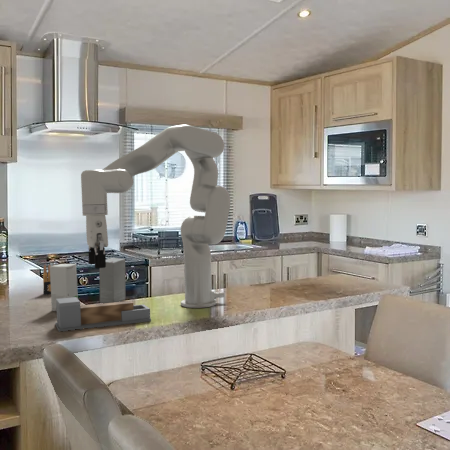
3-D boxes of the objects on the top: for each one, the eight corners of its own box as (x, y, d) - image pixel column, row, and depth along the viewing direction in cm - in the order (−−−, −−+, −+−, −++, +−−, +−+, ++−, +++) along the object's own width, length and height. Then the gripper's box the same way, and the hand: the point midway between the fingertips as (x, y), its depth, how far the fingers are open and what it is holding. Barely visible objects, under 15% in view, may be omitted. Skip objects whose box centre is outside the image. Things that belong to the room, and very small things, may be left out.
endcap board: (143, 315, 184) (142, 290, 184) (151, 321, 176) (150, 295, 176) (55, 325, 173) (54, 298, 172) (59, 331, 165) (57, 304, 164)
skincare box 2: (111, 298, 212) (110, 257, 211) (127, 300, 209) (126, 258, 208) (98, 303, 204) (96, 260, 203) (115, 304, 202) (113, 261, 200)
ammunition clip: (43, 294, 223) (42, 265, 222) (43, 294, 224) (42, 264, 223) (71, 292, 226) (70, 263, 226) (70, 291, 228) (69, 262, 227)
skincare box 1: (67, 311, 191) (66, 266, 190) (50, 311, 193) (48, 266, 191) (78, 306, 199) (77, 263, 198) (61, 306, 201) (60, 263, 200)
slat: (130, 316, 180) (130, 300, 179) (133, 318, 177) (133, 302, 176) (70, 322, 172) (69, 306, 172) (72, 325, 169) (71, 309, 169)
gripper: (113, 211, 165) (115, 268, 166) (101, 208, 181) (103, 261, 182) (87, 212, 162) (90, 270, 163) (77, 209, 178) (80, 263, 179)
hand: (97, 265), depth 173 cm, fingers open, 9 cm apart
